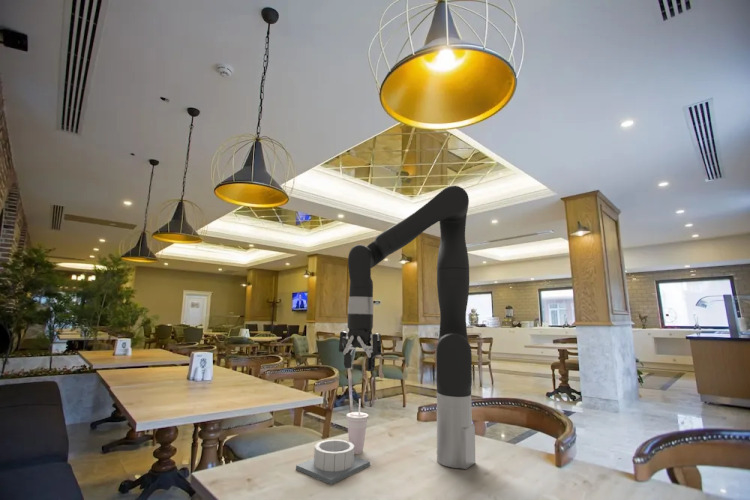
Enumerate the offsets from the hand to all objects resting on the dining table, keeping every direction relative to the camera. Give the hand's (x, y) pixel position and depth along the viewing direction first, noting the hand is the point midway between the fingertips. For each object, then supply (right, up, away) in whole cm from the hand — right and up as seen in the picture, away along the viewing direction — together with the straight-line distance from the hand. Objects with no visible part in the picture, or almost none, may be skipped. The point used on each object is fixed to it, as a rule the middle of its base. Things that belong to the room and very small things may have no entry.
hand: (358, 369), depth 107 cm
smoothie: (-1, -22, -4) cm, 22 cm away
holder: (-6, -20, -15) cm, 25 cm away
